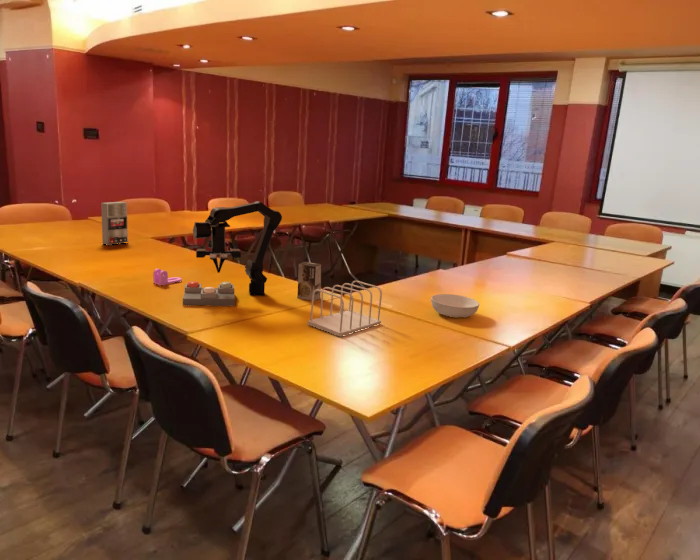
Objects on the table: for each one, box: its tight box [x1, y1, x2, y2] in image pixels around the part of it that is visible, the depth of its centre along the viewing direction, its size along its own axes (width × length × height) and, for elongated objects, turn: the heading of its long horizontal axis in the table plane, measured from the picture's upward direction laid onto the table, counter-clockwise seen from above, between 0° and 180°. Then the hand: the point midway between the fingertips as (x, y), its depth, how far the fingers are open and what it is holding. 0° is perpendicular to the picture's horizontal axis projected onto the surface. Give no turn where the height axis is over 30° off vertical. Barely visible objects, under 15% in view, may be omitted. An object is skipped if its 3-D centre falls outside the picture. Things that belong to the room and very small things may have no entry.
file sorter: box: [307, 280, 383, 337], centre depth 222 cm, size 25×17×16 cm
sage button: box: [220, 281, 232, 288], centre depth 247 cm, size 4×4×3 cm
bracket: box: [152, 268, 183, 286], centre depth 265 cm, size 13×6×7 cm, turn 145°
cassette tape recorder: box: [100, 201, 129, 246], centre depth 337 cm, size 14×6×25 cm, turn 147°
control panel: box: [182, 283, 236, 307], centre depth 242 cm, size 21×17×5 cm
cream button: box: [203, 286, 216, 293], centre depth 237 cm, size 4×4×3 cm
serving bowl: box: [430, 293, 480, 318], centre depth 247 cm, size 21×21×7 cm
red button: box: [187, 280, 200, 288], centre depth 244 cm, size 4×4×3 cm
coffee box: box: [297, 261, 323, 302], centre depth 255 cm, size 9×6×16 cm
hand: (218, 272), depth 245 cm, fingers closed
